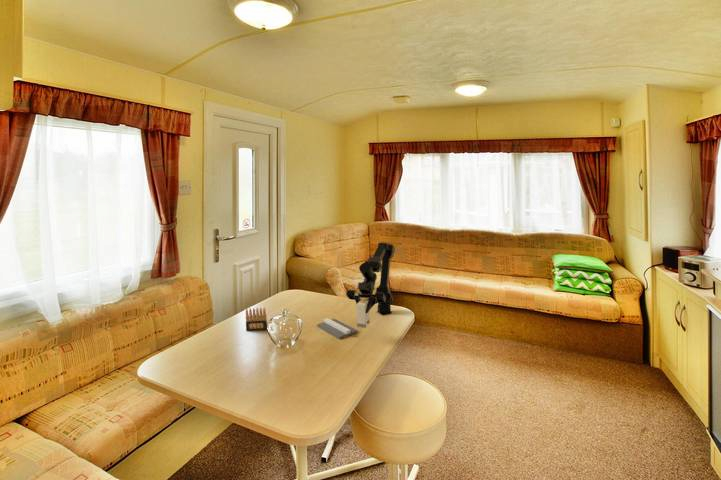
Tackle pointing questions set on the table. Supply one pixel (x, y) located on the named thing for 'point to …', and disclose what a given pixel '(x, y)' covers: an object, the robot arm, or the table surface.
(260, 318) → the ammunition clip
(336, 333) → the mounting board
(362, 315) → the block
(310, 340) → the table surface
